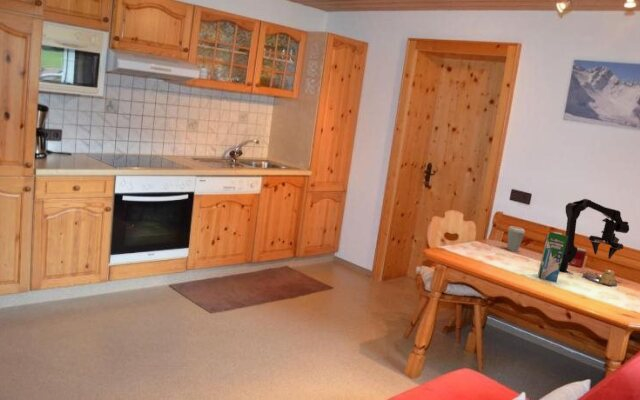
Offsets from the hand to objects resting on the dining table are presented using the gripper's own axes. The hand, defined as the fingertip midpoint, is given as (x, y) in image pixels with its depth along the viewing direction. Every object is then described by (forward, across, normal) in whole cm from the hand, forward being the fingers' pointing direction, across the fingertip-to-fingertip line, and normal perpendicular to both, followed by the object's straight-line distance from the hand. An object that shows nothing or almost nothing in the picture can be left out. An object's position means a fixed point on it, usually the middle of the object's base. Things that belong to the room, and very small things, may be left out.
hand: (602, 256), depth 333 cm
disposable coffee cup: (+12, +49, +19) cm, 54 cm away
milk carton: (+12, -8, +52) cm, 54 cm away
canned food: (+12, +20, -6) cm, 24 cm away
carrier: (+12, -9, +10) cm, 18 cm away
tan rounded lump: (+11, -15, +14) cm, 23 cm away
